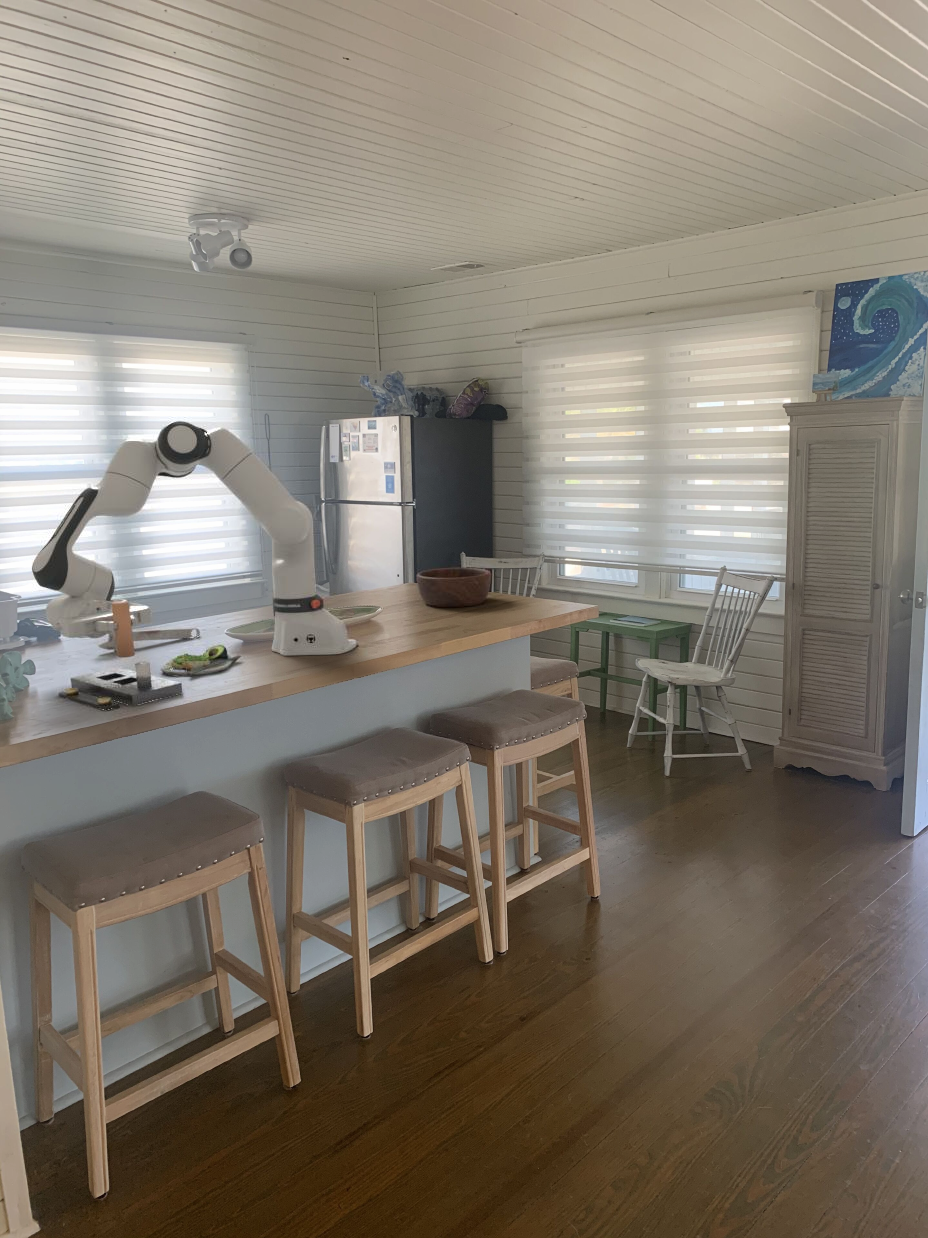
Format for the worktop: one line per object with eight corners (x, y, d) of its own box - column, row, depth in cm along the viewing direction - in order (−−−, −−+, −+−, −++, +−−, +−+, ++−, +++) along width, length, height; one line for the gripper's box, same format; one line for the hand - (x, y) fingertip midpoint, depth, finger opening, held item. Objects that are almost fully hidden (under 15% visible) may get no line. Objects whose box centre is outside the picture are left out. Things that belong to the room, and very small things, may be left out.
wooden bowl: (411, 599, 311) (410, 570, 309) (481, 594, 317) (480, 565, 315) (425, 612, 288) (424, 580, 286) (500, 606, 293) (500, 575, 291)
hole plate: (50, 693, 203) (46, 661, 201) (119, 677, 216) (116, 646, 214) (111, 712, 186) (107, 677, 185) (182, 693, 199) (179, 660, 198)
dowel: (138, 653, 202) (132, 601, 200) (129, 657, 199) (122, 604, 196) (123, 653, 203) (117, 601, 200) (114, 657, 199) (108, 604, 197)
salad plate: (224, 679, 212) (223, 660, 211) (149, 681, 213) (147, 662, 212) (245, 660, 231) (243, 642, 230) (176, 661, 232) (174, 644, 231)
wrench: (199, 647, 260) (95, 653, 240) (197, 646, 261) (92, 652, 241) (200, 619, 259) (95, 623, 239) (197, 618, 260) (92, 623, 240)
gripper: (46, 613, 199) (78, 618, 190) (130, 598, 214) (163, 602, 206) (50, 640, 200) (81, 647, 191) (133, 624, 216) (166, 629, 207)
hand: (124, 624), depth 199 cm, fingers closed on dowel, 4 cm apart
